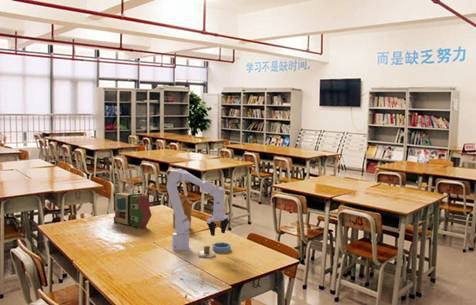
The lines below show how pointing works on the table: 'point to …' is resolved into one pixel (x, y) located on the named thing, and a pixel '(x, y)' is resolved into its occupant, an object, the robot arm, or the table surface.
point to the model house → (131, 209)
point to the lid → (206, 252)
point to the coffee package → (184, 208)
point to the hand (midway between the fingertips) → (217, 234)
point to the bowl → (221, 247)
